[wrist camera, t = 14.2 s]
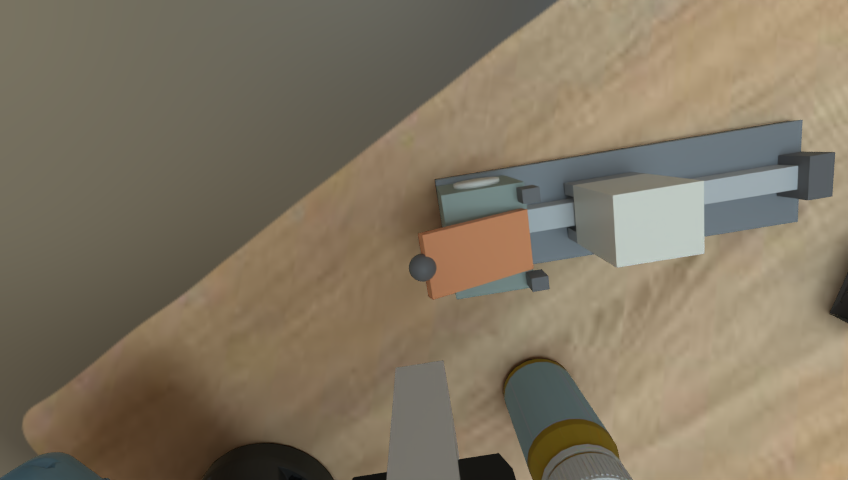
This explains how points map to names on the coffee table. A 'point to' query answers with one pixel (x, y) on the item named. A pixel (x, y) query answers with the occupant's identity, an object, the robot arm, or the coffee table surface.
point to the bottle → (559, 426)
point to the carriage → (638, 217)
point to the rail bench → (684, 158)
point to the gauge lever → (473, 253)
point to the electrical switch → (841, 303)
